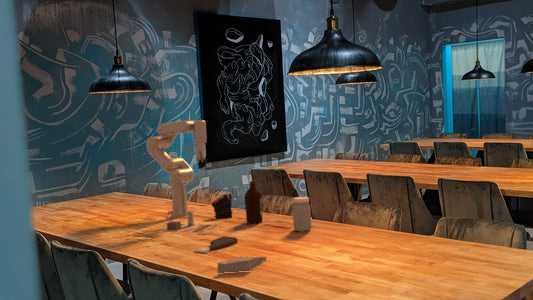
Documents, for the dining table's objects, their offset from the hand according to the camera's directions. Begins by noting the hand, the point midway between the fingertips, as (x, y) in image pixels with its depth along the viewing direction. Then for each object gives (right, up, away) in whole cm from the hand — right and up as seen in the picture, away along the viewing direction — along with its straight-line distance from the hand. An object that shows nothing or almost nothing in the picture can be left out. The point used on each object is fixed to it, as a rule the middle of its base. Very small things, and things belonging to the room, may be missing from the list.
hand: (202, 167), depth 341 cm
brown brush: (+15, -38, -67) cm, 79 cm away
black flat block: (+12, -33, +6) cm, 35 cm away
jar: (+60, -33, -38) cm, 78 cm away
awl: (-5, -33, -17) cm, 38 cm away
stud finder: (-13, -34, -25) cm, 45 cm away
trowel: (+30, -40, -105) cm, 116 cm away
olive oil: (+33, -33, -10) cm, 47 cm away
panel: (-3, -35, -24) cm, 43 cm away
